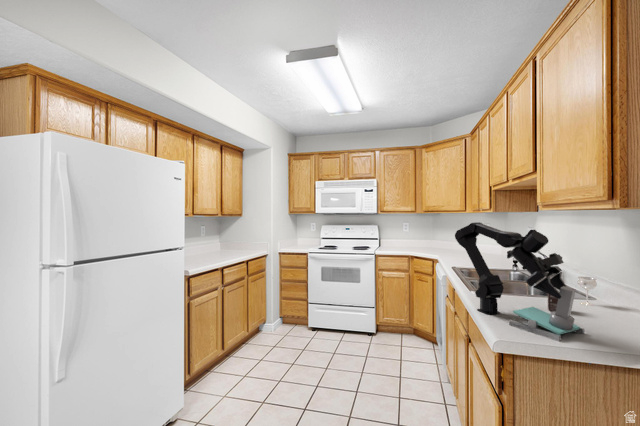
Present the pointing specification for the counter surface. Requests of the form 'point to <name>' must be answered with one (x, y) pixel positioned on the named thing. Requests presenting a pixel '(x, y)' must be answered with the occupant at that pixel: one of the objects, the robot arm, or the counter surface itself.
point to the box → (552, 303)
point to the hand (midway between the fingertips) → (564, 295)
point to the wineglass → (587, 286)
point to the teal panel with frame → (534, 329)
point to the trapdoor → (541, 319)
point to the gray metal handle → (563, 310)
